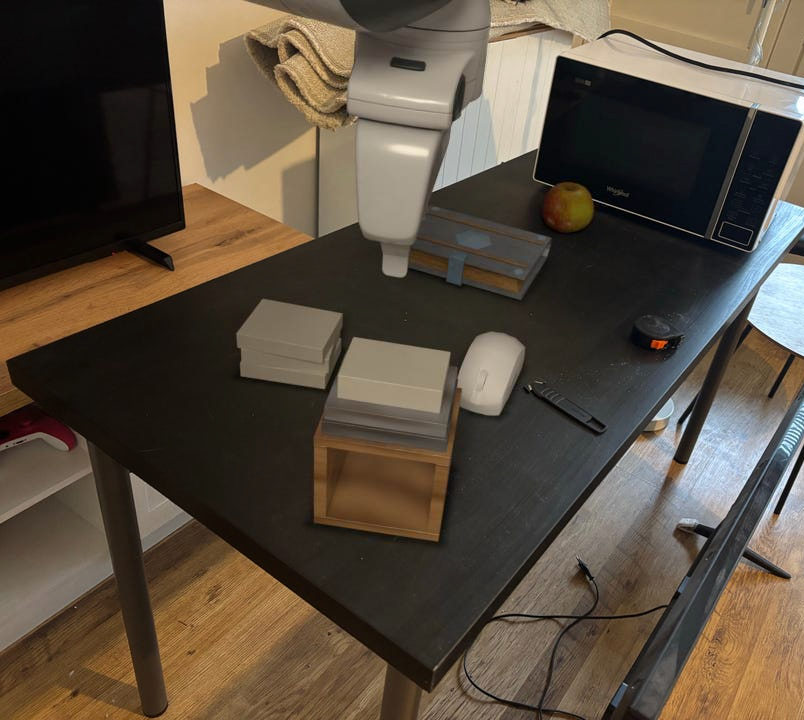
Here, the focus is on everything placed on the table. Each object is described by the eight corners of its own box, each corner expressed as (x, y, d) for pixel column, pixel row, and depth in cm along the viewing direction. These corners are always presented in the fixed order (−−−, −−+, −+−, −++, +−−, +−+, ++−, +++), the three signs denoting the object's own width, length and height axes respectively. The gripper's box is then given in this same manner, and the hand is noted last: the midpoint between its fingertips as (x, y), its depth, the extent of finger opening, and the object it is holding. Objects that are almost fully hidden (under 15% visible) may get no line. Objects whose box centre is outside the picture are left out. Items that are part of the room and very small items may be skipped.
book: (548, 258, 121) (553, 230, 118) (519, 303, 108) (525, 274, 105) (430, 225, 125) (432, 198, 122) (389, 265, 112) (391, 236, 109)
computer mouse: (447, 406, 87) (453, 363, 83) (479, 349, 97) (485, 309, 94) (499, 422, 86) (507, 379, 82) (526, 362, 96) (534, 322, 92)
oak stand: (438, 541, 70) (454, 431, 62) (313, 522, 70) (313, 410, 62) (450, 469, 78) (465, 363, 70) (338, 452, 78) (341, 344, 70)
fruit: (538, 213, 135) (546, 172, 131) (587, 220, 136) (596, 179, 131) (538, 236, 128) (547, 193, 123) (590, 244, 128) (600, 201, 123)
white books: (326, 392, 86) (326, 350, 83) (237, 378, 86) (233, 335, 82) (344, 349, 93) (345, 309, 90) (261, 336, 93) (259, 295, 90)
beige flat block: (439, 414, 64) (442, 391, 62) (336, 398, 64) (337, 375, 62) (448, 373, 69) (450, 351, 67) (352, 358, 69) (353, 336, 67)
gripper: (400, 22, 58) (390, 186, 66) (339, 95, 42) (335, 302, 50) (479, 34, 58) (459, 197, 66) (449, 112, 42) (428, 316, 50)
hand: (406, 243), depth 58 cm, fingers open, 8 cm apart
